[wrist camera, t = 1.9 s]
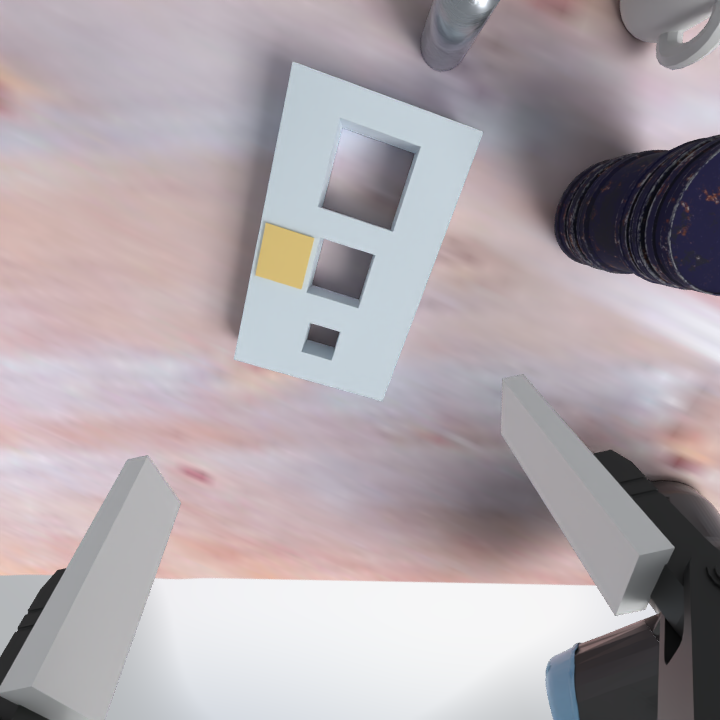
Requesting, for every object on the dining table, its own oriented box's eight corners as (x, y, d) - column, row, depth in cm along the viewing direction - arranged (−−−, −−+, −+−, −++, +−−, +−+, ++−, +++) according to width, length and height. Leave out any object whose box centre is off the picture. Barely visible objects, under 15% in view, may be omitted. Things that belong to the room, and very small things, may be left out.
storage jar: (601, 285, 39) (733, 326, 25) (531, 230, 37) (632, 241, 23) (680, 199, 36) (881, 190, 22) (608, 133, 34) (778, 78, 20)
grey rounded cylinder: (475, 22, 31) (523, -59, 22) (457, 78, 32) (494, 24, 23) (430, 4, 31) (459, -86, 21) (413, 61, 32) (434, 0, 23)
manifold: (470, 140, 34) (484, 130, 30) (380, 385, 43) (382, 402, 39) (300, 78, 32) (292, 59, 28) (245, 346, 42) (232, 360, 38)
